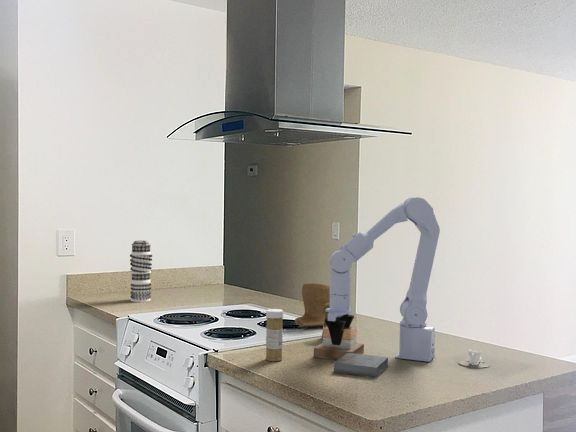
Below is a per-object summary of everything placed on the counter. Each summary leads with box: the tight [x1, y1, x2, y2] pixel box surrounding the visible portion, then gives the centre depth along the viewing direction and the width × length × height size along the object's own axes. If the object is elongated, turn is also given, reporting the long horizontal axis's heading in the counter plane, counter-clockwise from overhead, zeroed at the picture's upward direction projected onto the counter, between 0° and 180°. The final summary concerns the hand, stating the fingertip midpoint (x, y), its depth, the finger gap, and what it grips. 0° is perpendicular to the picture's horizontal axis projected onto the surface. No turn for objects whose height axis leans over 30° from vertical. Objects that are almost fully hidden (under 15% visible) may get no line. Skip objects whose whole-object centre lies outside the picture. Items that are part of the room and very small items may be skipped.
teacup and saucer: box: [467, 348, 483, 366], centre depth 166 cm, size 9×8×4 cm
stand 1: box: [313, 342, 365, 361], centre depth 174 cm, size 11×11×2 cm
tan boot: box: [294, 282, 330, 329], centre depth 214 cm, size 15×12×15 cm
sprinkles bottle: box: [265, 308, 284, 362], centre depth 167 cm, size 5×5×13 cm
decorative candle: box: [129, 240, 153, 303], centre depth 262 cm, size 9×9×25 cm
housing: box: [322, 326, 357, 349], centre depth 174 cm, size 8×5×5 cm, turn 67°
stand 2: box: [333, 353, 389, 378], centre depth 159 cm, size 11×11×2 cm
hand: (339, 342), depth 174 cm, fingers closed on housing, 5 cm apart
